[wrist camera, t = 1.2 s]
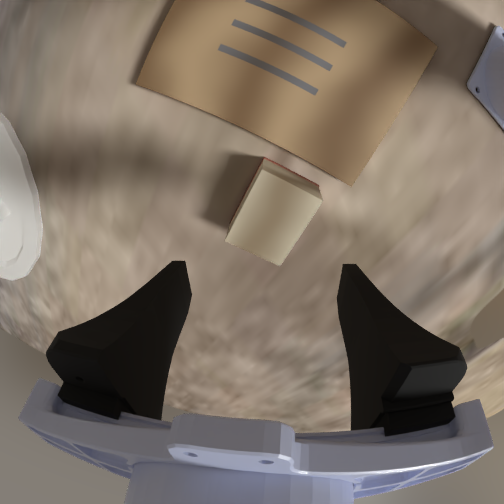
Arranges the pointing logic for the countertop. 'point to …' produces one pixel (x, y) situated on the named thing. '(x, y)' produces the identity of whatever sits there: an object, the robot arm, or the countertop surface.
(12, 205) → the dish
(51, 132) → the countertop surface
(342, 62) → the board
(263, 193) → the block
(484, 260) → the countertop surface
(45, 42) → the countertop surface
